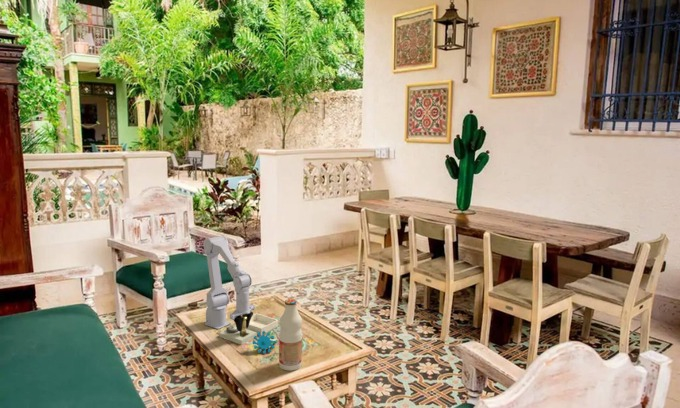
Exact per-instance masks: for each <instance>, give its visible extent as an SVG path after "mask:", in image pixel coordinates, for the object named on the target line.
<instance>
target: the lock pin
mask: <svg viewBox="0 0 680 408" xmlns="http://www.w3.org/2000/svg"><path fill="white" fill-rule="evenodd" d="M241 317H242V318H244V320H243V323H242V331H240V336H241V337H245V336H246V319H247V316H246V315H241Z"/></svg>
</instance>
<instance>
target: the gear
mask: <svg viewBox="0 0 680 408" xmlns="http://www.w3.org/2000/svg"><path fill="white" fill-rule="evenodd" d="M260 334H261V333H260V332H259V333H257V336H254V338H253V341H252V344H253V345H254V346H253V349H254V350H256V349H257V353H258V354H260V353H261V352H262V354H263V355H266V354H267V353H268V354H269V353H271V352H272V350H274V349H275V345H276V344H278V343H279V339H276V340H275V336H274V335H272V336H271V333H270V331H269V332H267V333H266V335H265V331H263V332H262V336H261V335H260ZM256 341H257V342H256ZM262 350H263V351H262Z"/></svg>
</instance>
